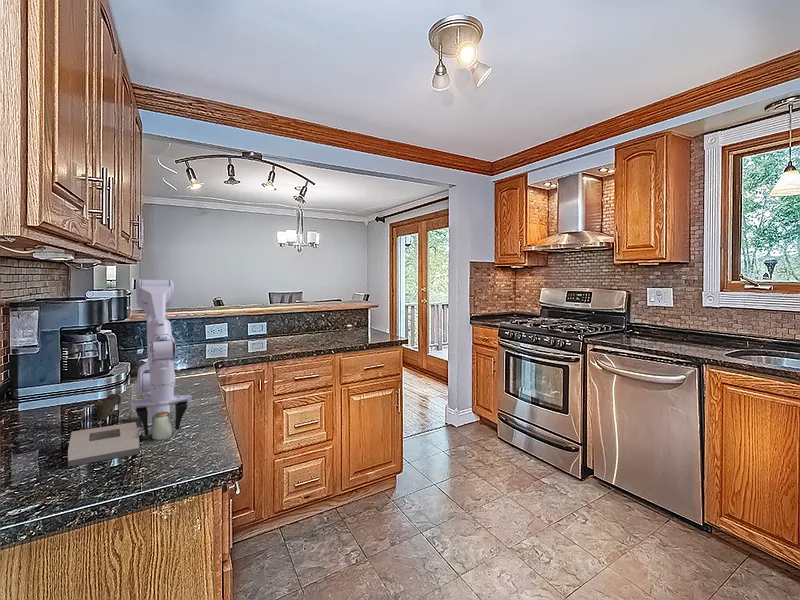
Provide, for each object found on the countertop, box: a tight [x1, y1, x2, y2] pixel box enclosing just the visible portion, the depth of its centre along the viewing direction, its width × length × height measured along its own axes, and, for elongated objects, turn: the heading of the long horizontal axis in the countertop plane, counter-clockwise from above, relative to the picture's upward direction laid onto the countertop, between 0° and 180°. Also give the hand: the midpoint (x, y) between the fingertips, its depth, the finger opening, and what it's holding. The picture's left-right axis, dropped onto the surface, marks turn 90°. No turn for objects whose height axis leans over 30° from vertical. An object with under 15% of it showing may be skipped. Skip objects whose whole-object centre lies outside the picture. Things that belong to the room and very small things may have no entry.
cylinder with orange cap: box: [151, 412, 173, 441], centre depth 115 cm, size 5×5×7 cm
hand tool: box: [96, 393, 122, 421], centre depth 135 cm, size 19×4×5 cm, turn 21°
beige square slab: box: [67, 421, 140, 468], centre depth 105 cm, size 14×14×4 cm
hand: (162, 431), depth 115 cm, fingers open, 7 cm apart
